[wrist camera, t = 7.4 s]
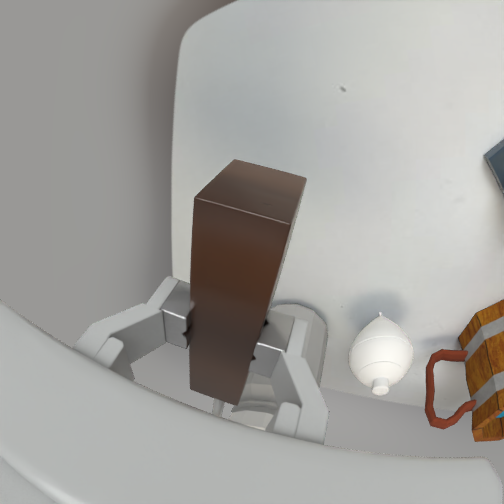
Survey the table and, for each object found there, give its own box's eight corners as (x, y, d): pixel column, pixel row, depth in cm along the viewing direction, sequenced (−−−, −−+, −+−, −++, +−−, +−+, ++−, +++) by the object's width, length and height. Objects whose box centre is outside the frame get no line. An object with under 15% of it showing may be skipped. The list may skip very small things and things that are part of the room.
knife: (234, 158, 10) (193, 196, 7) (307, 177, 9) (291, 224, 7) (205, 415, 22) (192, 445, 20) (232, 425, 22) (221, 456, 20)
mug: (542, 291, 27) (578, 376, 15) (518, 352, 33) (535, 429, 21) (423, 309, 34) (435, 412, 22) (415, 369, 41) (416, 454, 29)
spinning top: (399, 282, 33) (407, 364, 24) (414, 322, 36) (421, 399, 26) (342, 301, 37) (333, 380, 28) (363, 337, 40) (358, 412, 30)
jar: (284, 286, 38) (242, 414, 24) (343, 323, 39) (325, 448, 25) (248, 323, 44) (204, 431, 30) (301, 354, 45) (274, 461, 31)
